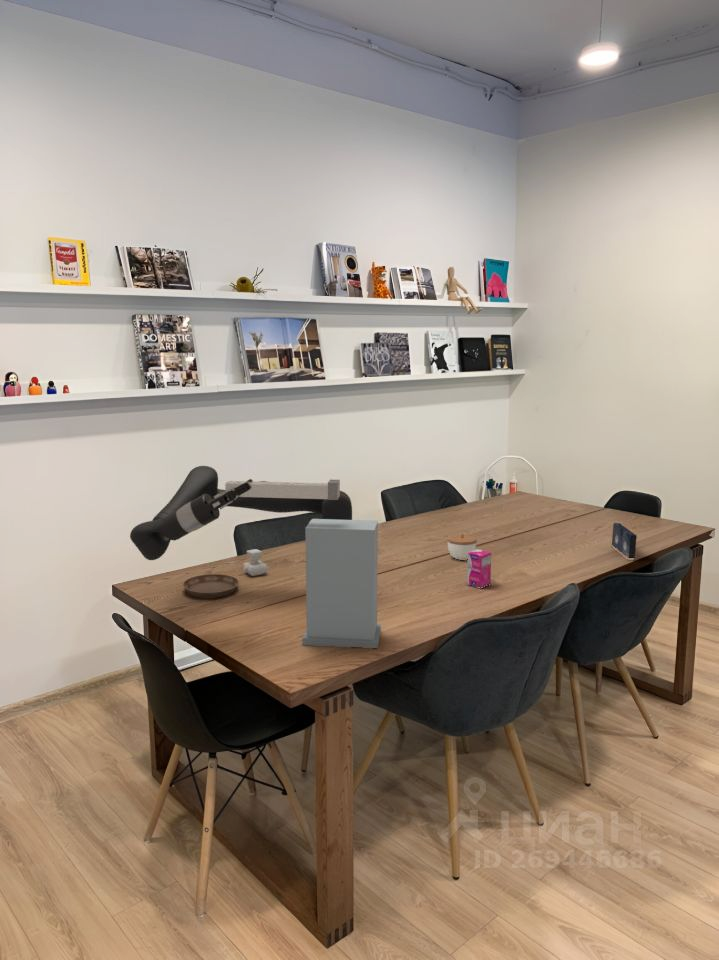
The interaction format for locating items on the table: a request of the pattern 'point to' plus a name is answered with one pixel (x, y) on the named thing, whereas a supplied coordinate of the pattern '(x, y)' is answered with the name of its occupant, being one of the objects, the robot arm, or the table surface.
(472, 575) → the supplement box
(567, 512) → the table surface
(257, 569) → the stamp
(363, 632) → the stand
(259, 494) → the shaft
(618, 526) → the vhs cassette tape
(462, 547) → the lidded jar
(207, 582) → the plant saucer
